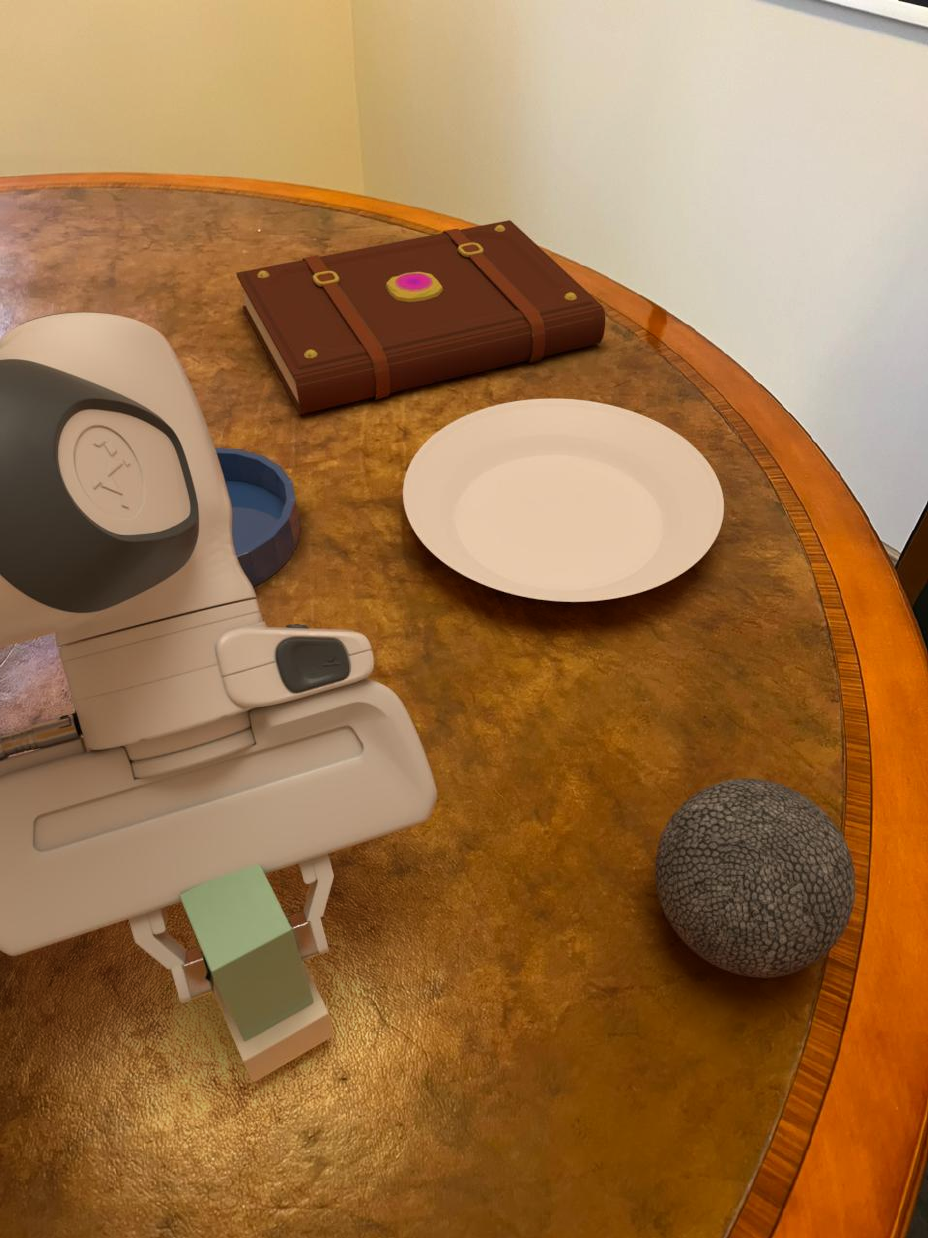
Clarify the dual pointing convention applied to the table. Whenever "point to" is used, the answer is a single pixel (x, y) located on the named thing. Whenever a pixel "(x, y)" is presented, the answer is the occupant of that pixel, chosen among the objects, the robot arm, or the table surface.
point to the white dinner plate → (563, 500)
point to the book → (415, 313)
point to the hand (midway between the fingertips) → (257, 973)
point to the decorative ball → (755, 878)
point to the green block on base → (257, 970)
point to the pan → (260, 512)
